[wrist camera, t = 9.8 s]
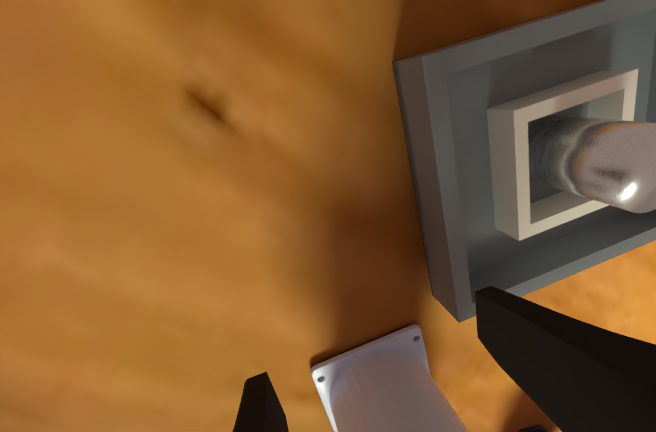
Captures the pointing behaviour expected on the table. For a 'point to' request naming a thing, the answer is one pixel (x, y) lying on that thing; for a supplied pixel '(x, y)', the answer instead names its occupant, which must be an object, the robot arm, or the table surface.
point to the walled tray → (521, 147)
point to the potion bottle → (534, 429)
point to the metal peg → (596, 159)
